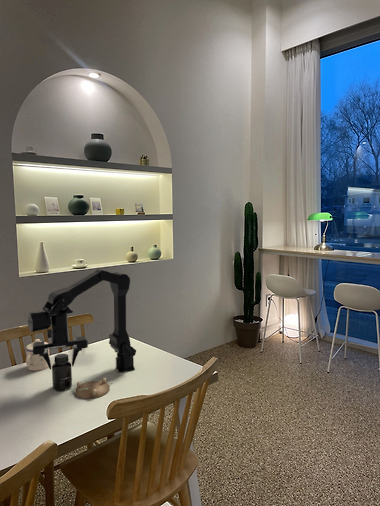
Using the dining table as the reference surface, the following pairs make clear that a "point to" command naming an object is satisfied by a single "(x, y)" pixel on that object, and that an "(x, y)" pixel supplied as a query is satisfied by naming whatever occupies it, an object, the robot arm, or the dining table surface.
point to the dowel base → (92, 389)
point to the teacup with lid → (35, 359)
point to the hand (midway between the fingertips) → (61, 367)
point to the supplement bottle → (61, 373)
